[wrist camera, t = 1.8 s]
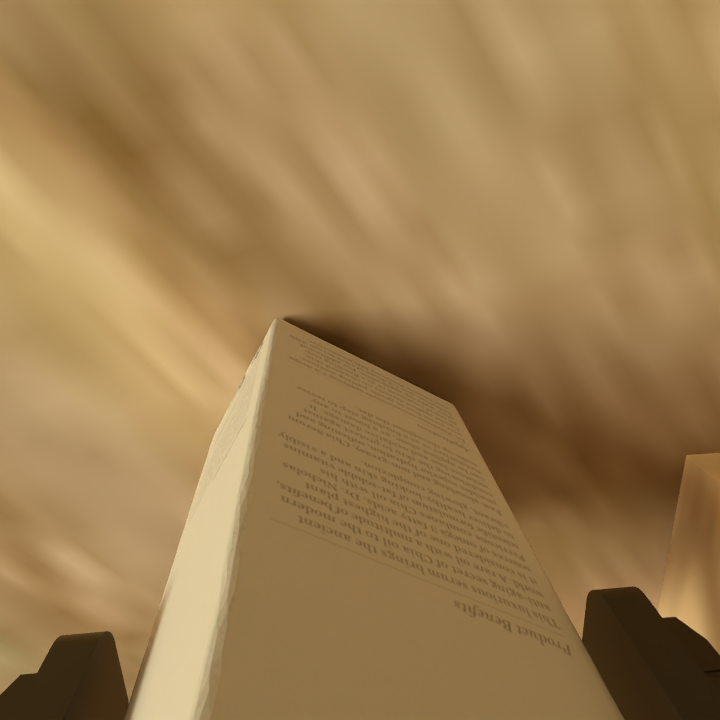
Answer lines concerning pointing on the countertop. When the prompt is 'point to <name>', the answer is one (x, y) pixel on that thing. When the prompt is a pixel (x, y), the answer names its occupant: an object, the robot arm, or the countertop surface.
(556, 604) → the skincare box
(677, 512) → the block lower
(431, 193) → the countertop surface
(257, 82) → the countertop surface
